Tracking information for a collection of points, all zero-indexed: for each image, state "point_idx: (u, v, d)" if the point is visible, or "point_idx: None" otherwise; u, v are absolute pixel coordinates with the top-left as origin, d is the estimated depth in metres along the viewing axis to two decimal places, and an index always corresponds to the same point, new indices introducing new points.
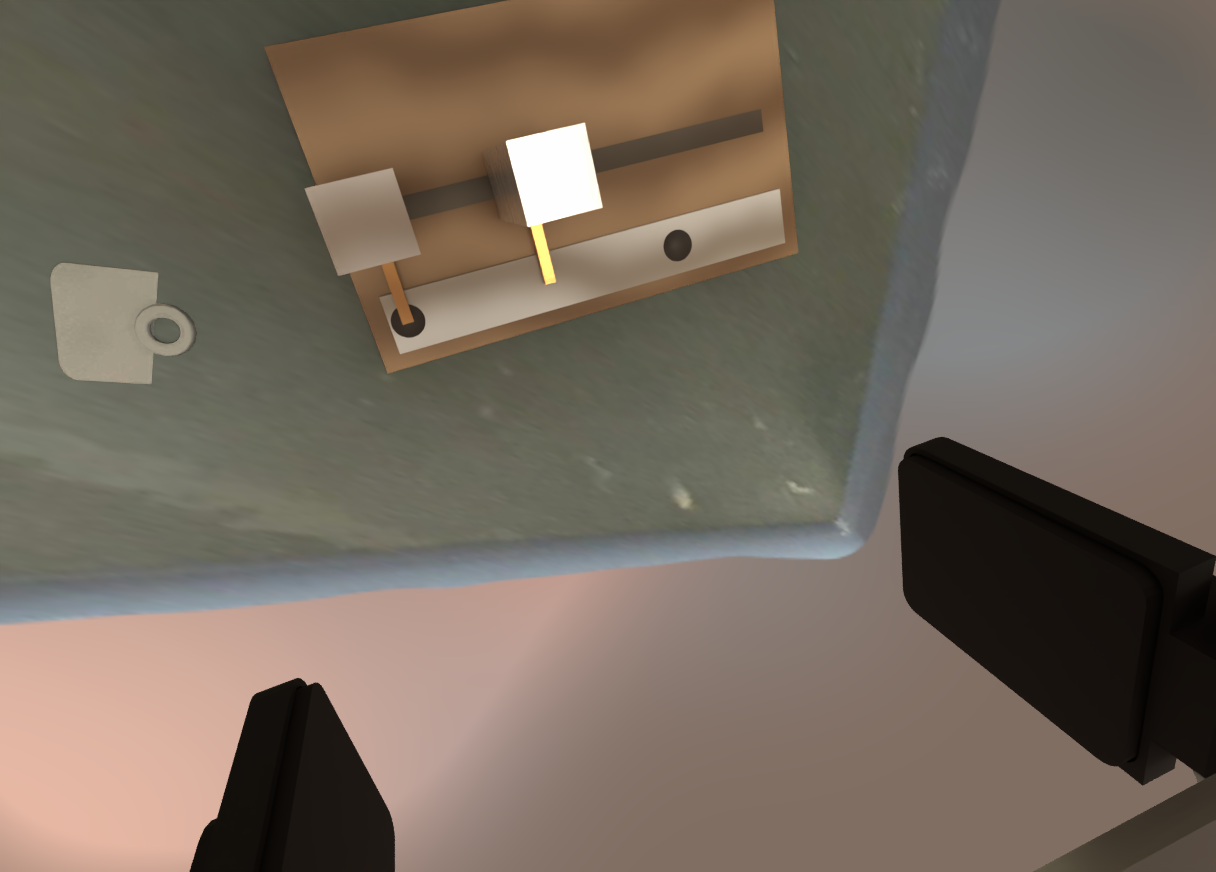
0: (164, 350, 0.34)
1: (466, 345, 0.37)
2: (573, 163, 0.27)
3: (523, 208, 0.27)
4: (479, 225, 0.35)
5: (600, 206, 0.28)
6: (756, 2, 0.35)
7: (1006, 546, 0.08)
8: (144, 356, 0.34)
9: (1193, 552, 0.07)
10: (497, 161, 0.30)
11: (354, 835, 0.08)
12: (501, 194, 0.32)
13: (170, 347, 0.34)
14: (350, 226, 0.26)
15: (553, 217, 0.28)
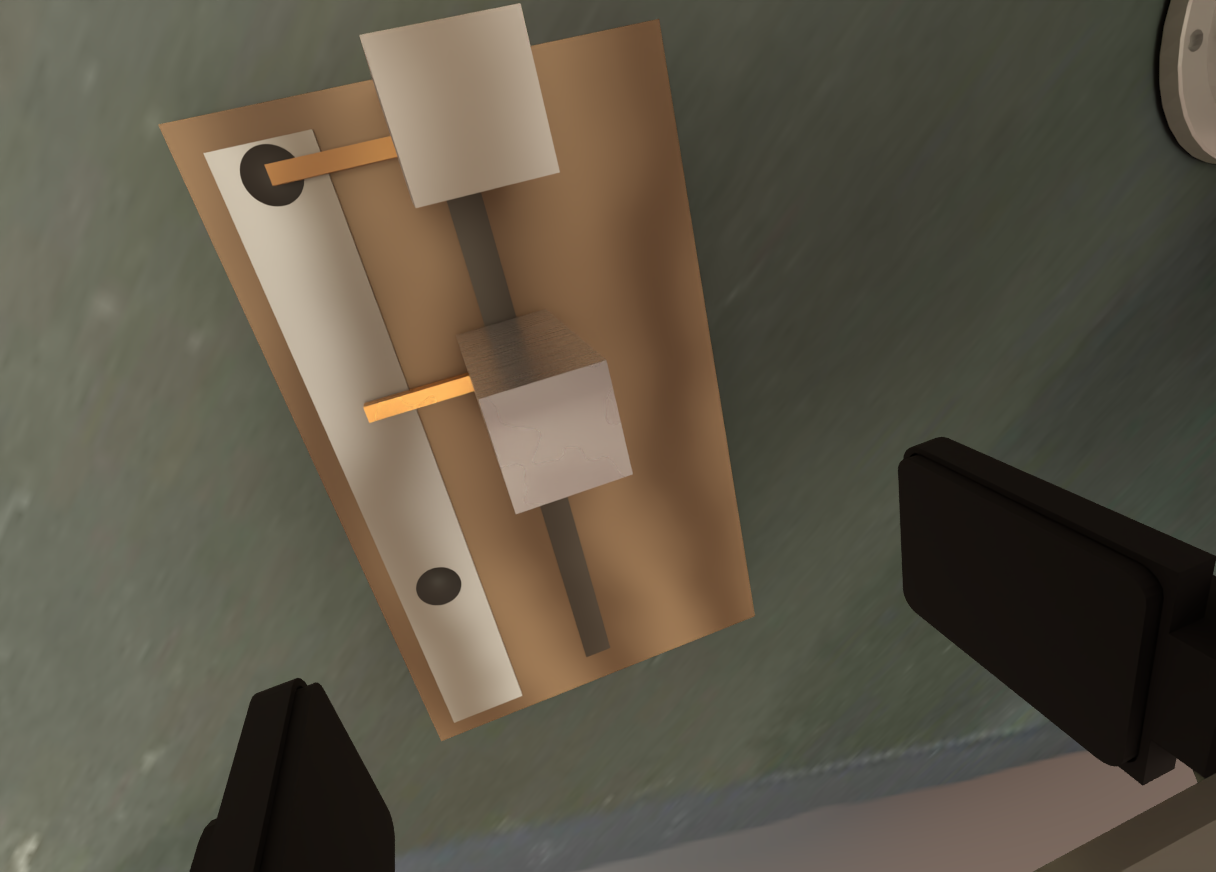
0: None
1: (237, 275, 0.21)
2: (577, 463, 0.17)
3: (507, 390, 0.16)
4: (445, 303, 0.23)
5: (517, 510, 0.17)
6: (711, 615, 0.32)
7: (1006, 546, 0.08)
8: None
9: (1194, 552, 0.07)
10: (554, 338, 0.20)
11: (354, 835, 0.08)
12: (502, 341, 0.21)
13: None
14: (458, 78, 0.14)
15: (496, 439, 0.17)
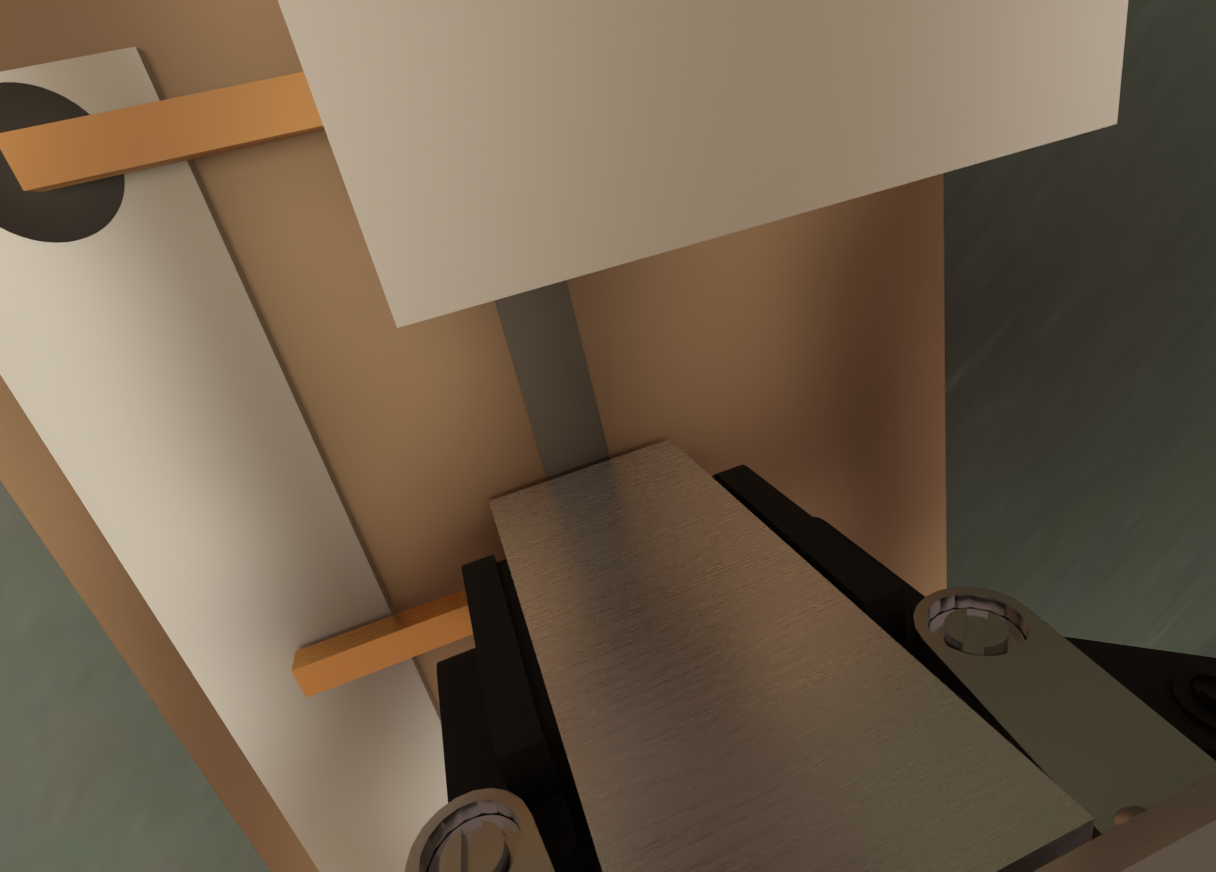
0: None
1: None
2: None
3: None
4: (466, 436, 0.11)
5: None
6: None
7: None
8: None
9: (887, 582, 0.07)
10: (762, 580, 0.08)
11: None
12: (609, 557, 0.09)
13: None
14: None
15: None
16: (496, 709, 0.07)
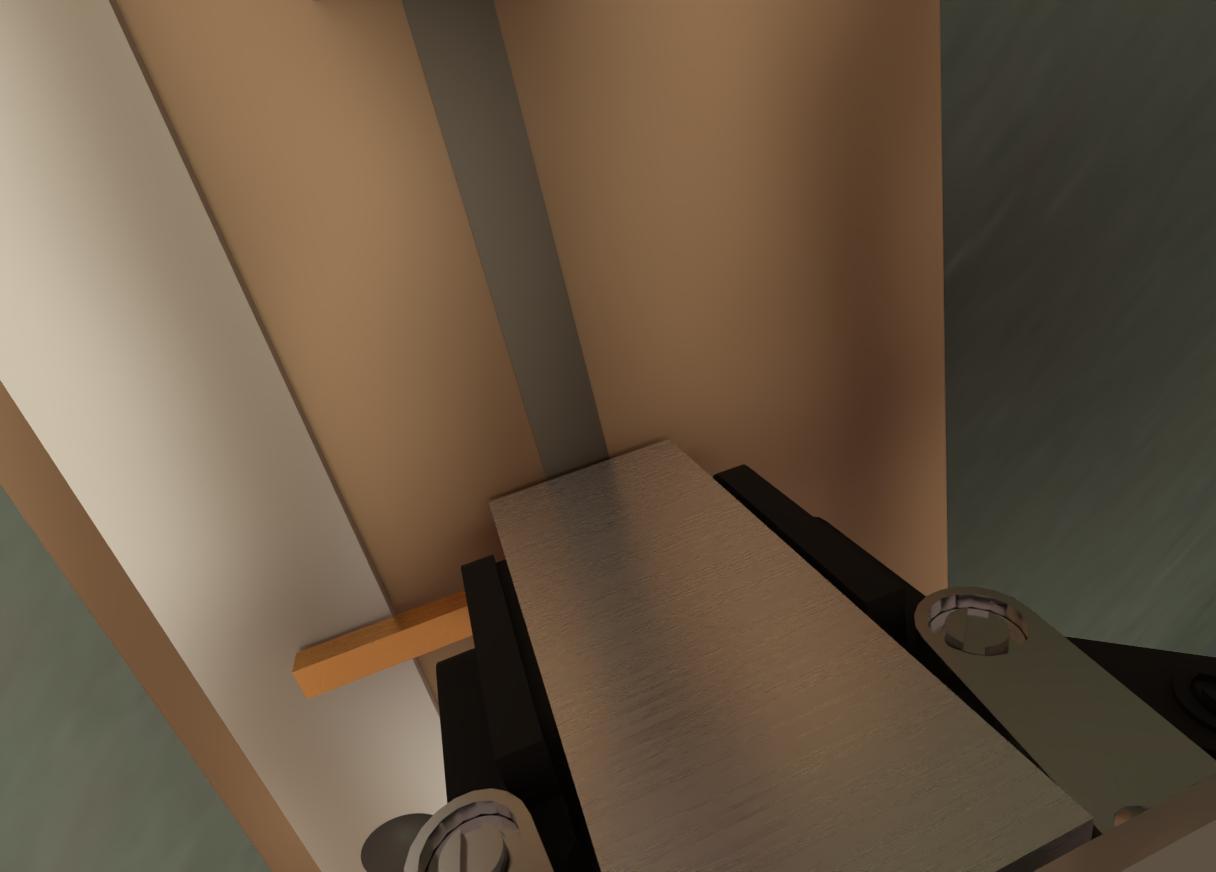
0: None
1: None
2: None
3: None
4: (406, 267, 0.10)
5: None
6: None
7: None
8: None
9: (887, 582, 0.07)
10: (761, 580, 0.08)
11: None
12: (608, 557, 0.09)
13: None
14: None
15: None
16: (495, 709, 0.07)
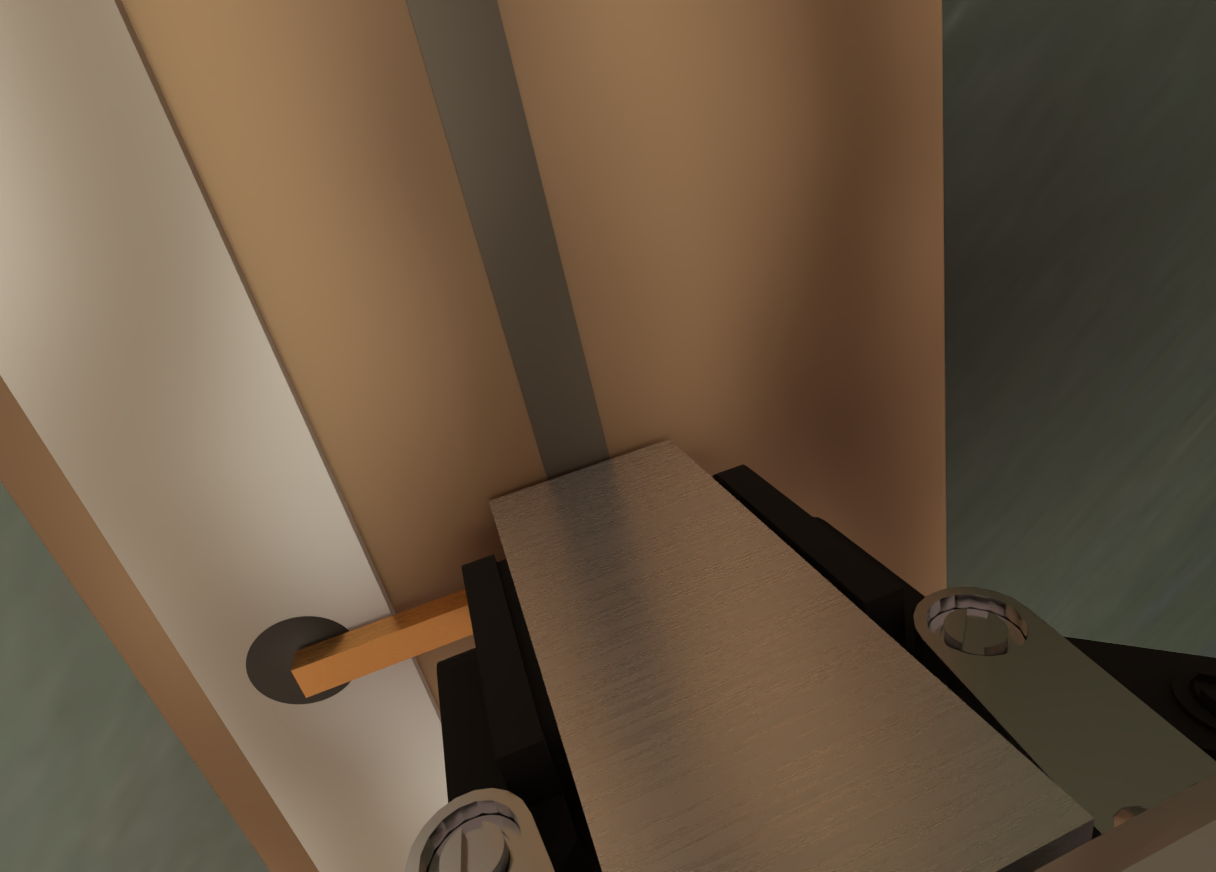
0: None
1: None
2: None
3: None
4: None
5: None
6: None
7: None
8: None
9: (887, 583, 0.07)
10: (761, 580, 0.08)
11: None
12: (609, 556, 0.09)
13: None
14: None
15: None
16: (496, 709, 0.07)
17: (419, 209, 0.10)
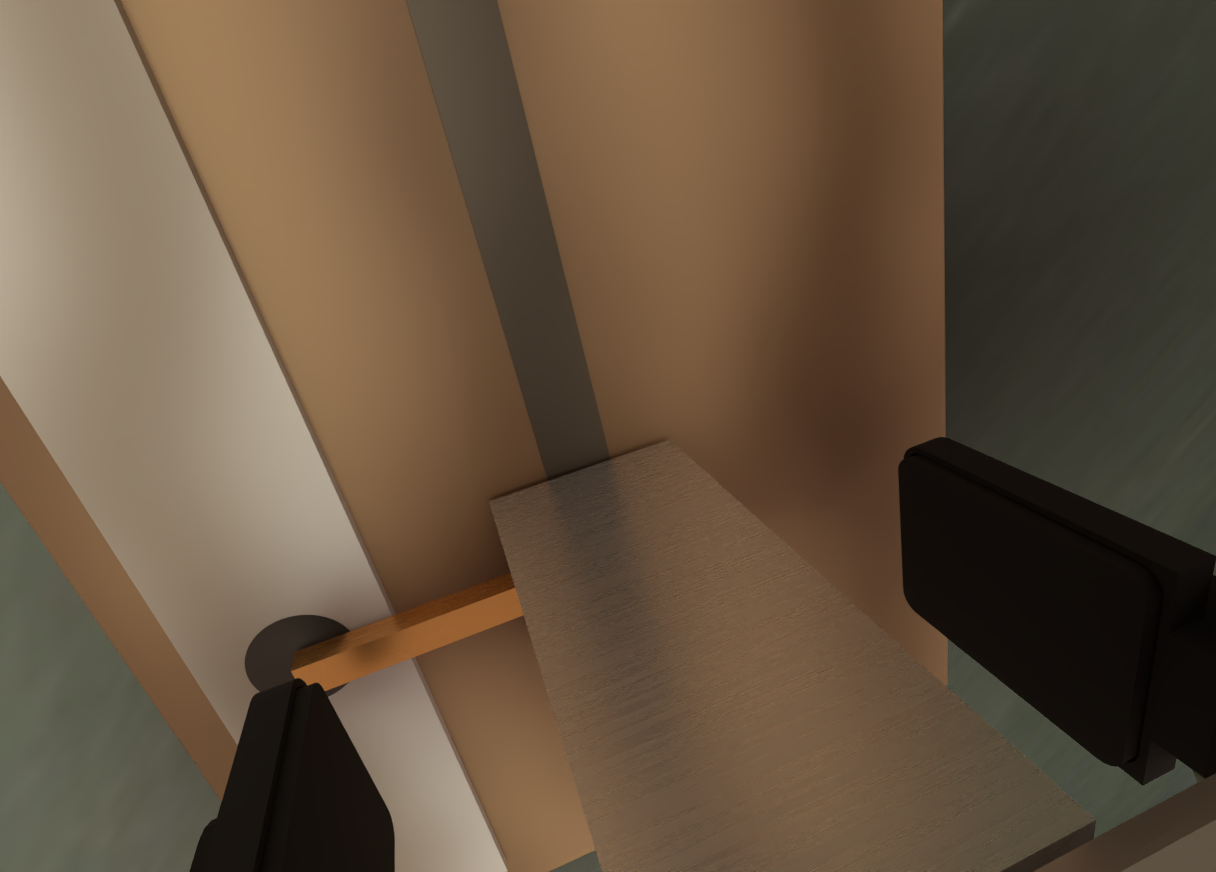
0: None
1: None
2: None
3: None
4: None
5: None
6: None
7: (1006, 546, 0.08)
8: None
9: (1194, 552, 0.07)
10: (762, 580, 0.08)
11: (354, 835, 0.08)
12: (609, 557, 0.09)
13: None
14: None
15: None
16: None
17: (418, 206, 0.10)
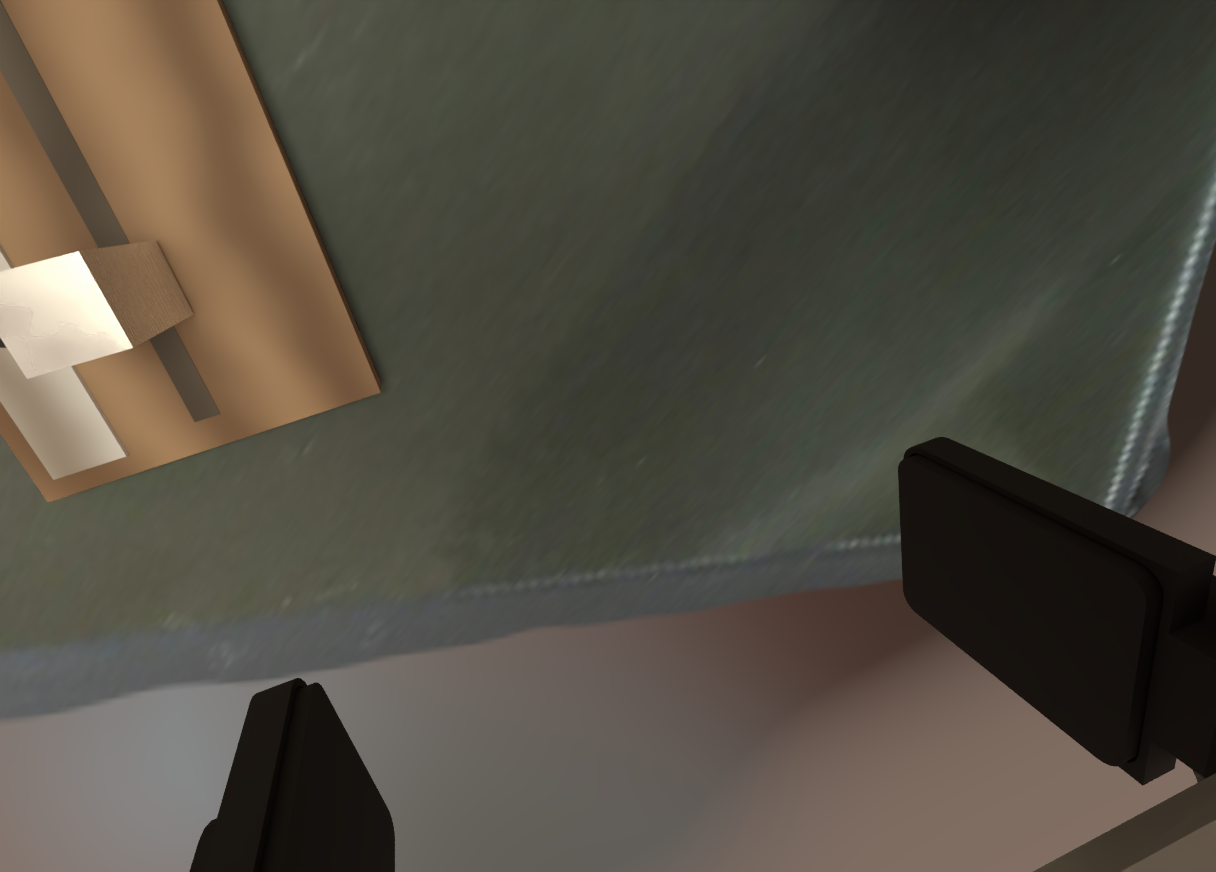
0: None
1: None
2: (75, 337, 0.22)
3: None
4: None
5: (27, 376, 0.22)
6: (330, 388, 0.33)
7: (1006, 546, 0.08)
8: None
9: (1194, 551, 0.07)
10: None
11: (354, 835, 0.08)
12: None
13: None
14: None
15: None
16: None
17: (19, 141, 0.26)
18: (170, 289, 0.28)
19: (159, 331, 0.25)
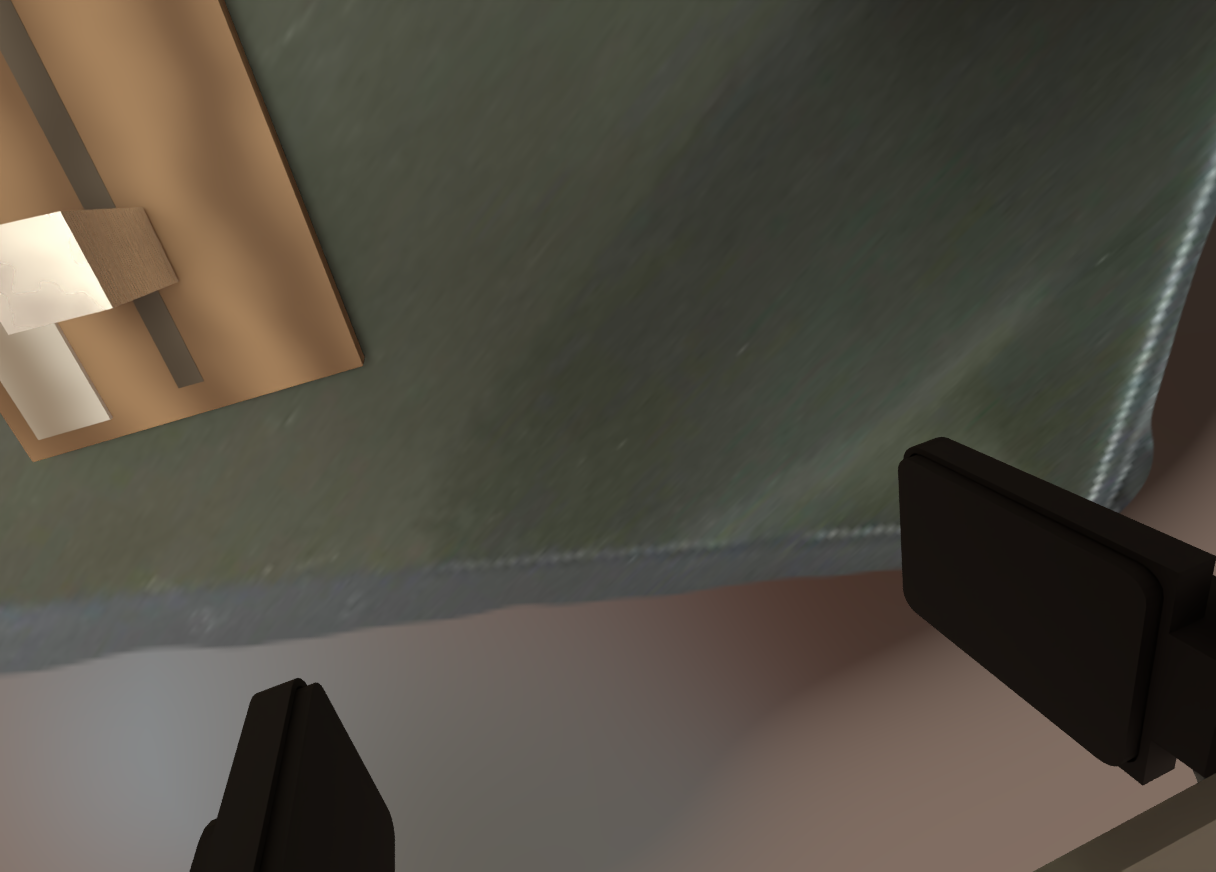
0: None
1: None
2: (56, 295, 0.23)
3: None
4: None
5: (8, 332, 0.23)
6: (312, 359, 0.34)
7: (1006, 546, 0.08)
8: None
9: (1194, 552, 0.07)
10: None
11: (354, 835, 0.08)
12: None
13: None
14: None
15: None
16: None
17: (9, 105, 0.27)
18: (155, 255, 0.29)
19: (141, 294, 0.26)
